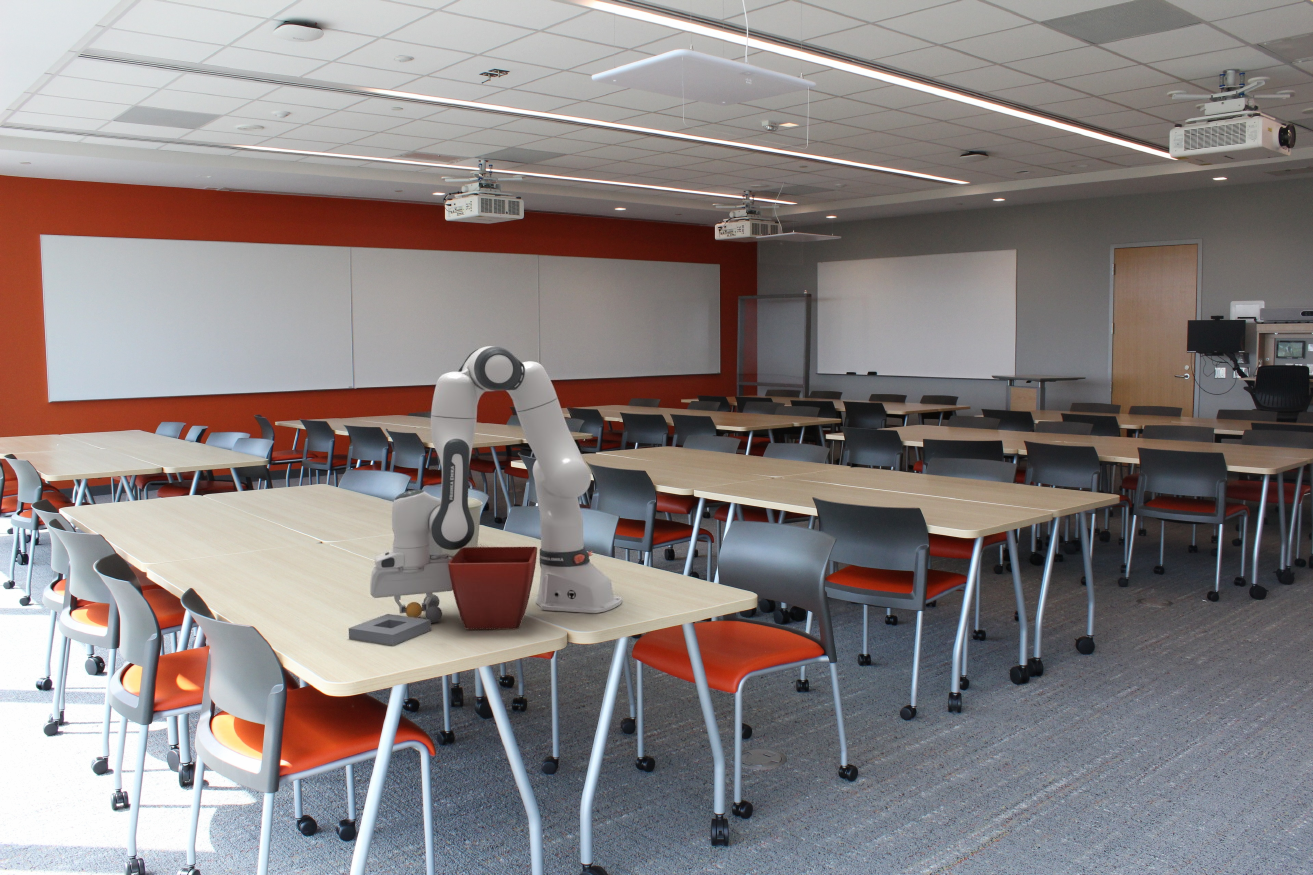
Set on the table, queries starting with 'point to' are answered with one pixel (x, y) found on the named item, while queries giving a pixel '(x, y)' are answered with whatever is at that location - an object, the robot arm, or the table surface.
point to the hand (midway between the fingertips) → (413, 611)
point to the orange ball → (413, 609)
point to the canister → (475, 513)
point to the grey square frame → (389, 629)
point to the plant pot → (492, 585)
